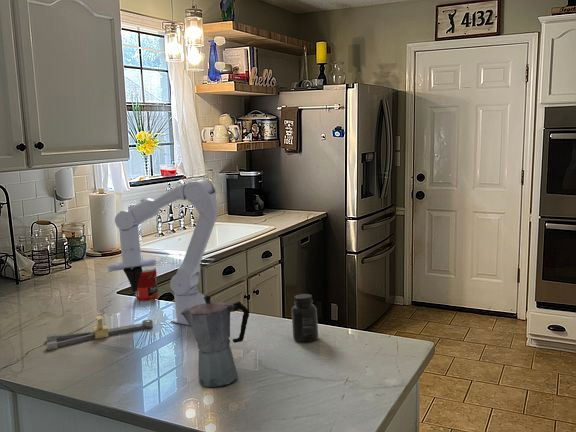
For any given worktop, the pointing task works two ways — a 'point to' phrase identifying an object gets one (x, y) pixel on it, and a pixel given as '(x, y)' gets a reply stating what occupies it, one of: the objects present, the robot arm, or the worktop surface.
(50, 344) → the grey long bar part
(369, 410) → the worktop surface
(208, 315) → the moka pot
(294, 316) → the supplement bottle
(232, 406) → the worktop surface
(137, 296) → the canned food
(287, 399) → the worktop surface
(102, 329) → the collar
